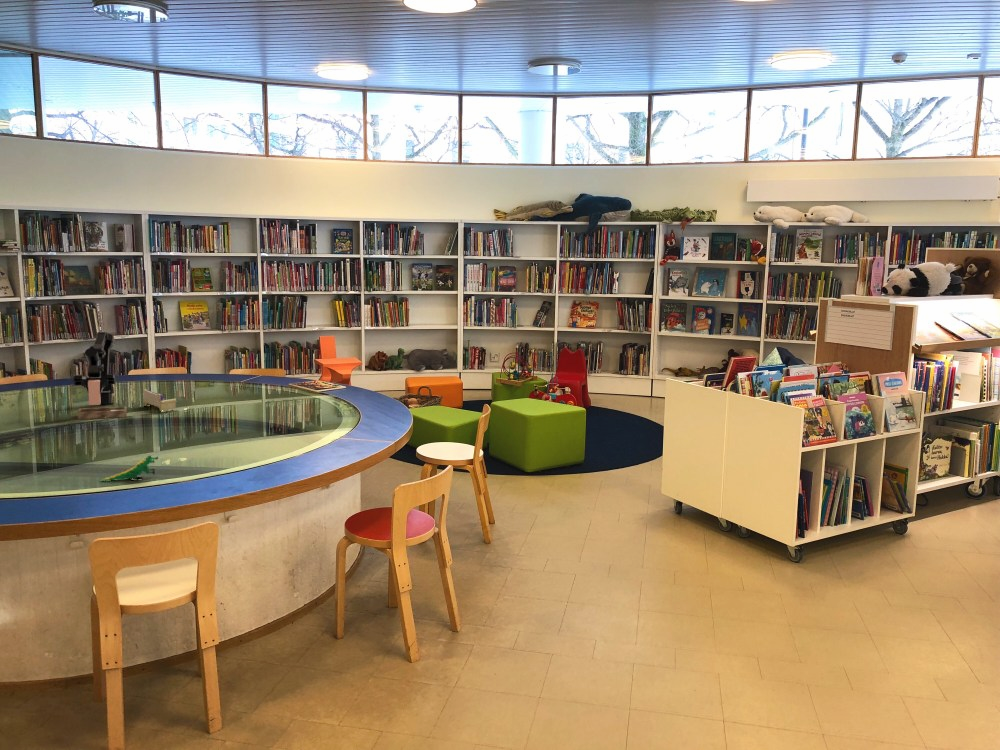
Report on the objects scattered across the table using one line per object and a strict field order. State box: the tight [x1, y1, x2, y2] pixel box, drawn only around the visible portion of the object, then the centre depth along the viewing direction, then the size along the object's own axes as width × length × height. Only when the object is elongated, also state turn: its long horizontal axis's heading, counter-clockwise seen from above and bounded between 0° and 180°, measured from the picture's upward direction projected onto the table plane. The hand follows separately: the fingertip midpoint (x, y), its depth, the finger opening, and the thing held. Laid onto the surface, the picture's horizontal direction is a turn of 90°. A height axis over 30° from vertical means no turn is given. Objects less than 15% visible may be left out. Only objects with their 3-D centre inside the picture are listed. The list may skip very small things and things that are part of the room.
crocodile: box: [100, 454, 159, 482], centre depth 304 cm, size 20×6×9 cm, turn 114°
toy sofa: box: [142, 388, 177, 412], centre depth 429 cm, size 21×9×10 cm, turn 49°
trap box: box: [77, 406, 128, 420], centre depth 407 cm, size 22×10×4 cm, turn 115°
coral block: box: [87, 380, 101, 406], centre depth 404 cm, size 5×5×12 cm
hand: (94, 393), depth 403 cm, fingers closed on coral block, 5 cm apart
